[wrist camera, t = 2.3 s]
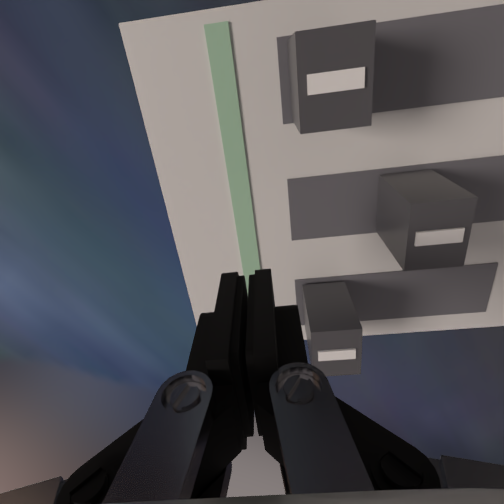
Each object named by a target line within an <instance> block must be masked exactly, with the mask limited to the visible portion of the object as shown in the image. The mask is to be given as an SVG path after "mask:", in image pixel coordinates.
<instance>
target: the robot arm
mask: <svg viewBox="0 0 504 504" xmlns="http://www.w3.org/2000/svg"><path fill="white" fill-rule="evenodd" d="M254 411H255V417H256V423H257V428H258V434H259V436H263V440H264V446H265V450H266V451H267V452H268V453H269V454H270V455H271V456H272V457H274V459H276V460H277V461H278V462H279V463H280V469H281V474H282V479H283V484H284V489H285V494H286V495H268V496H247V497H226V496H227V491H228V486H229V481H230V477H231V471H232V462H231V461H232V460H233V459H234V458H235V457H236V456H237V455H238V454H239V453H240V452H241V450H243V449H246V448H247V437H250V436H253V434H254ZM0 504H504V465H499V464H492V463H486V462H480V461H474V460H468V459H462V458H456V457H450V456H444V455H441V457H440V460H439V459H433V458H427V457H426V456H425V455H424V454H423V453H421V452H420V451H419V450H418V449H417V448H415V447H414V446H412V445H410V444H409V443H407V442H406V441H404V440H403V439H401V438H399V437H398V436H396V435H395V434H393V433H392V432H390V431H388V430H387V429H385V428H384V427H382V426H381V425H379V424H377V423H376V422H374V421H373V420H371V419H370V418H368V417H366V416H365V415H363V414H362V413H360V412H359V411H357V410H356V409H354V408H352V407H351V406H349V405H348V404H346V403H345V402H343V401H341V400H340V399H338V398H337V397H335V396H334V393H333V391H332V389H331V386H330V384H329V382H328V379H327V378H326V376H325V375H324V373H323V372H322V371H321V370H320V369H318V368H317V367H315V366H313V365H311V364H308V362H307V356H306V350H305V344H304V339H303V333H302V327H301V321H300V315H299V310H298V305H287V306H275V301H274V292H273V283H272V274H271V269H260V270H255V274H252V275H249V285H248V294H247V287H246V281H245V276H244V275H242V276H239V274H238V272H229V273H222V274H221V278H220V284H219V289H218V294H217V299H216V305H215V310H214V312H208V313H201V314H200V316H199V320H198V324H197V328H196V332H195V336H194V340H193V344H192V348H191V352H190V356H189V360H188V364H187V368H186V371H183V372H180V373H177V374H175V375H173V376H172V377H170V378H168V379H167V380H166V381H165V382H164V383H163V384H162V385H161V387H160V388H159V389H158V391H157V393H156V395H155V397H154V399H153V401H152V403H151V405H150V407H149V409H148V411H147V413H146V415H145V417H144V419H143V420H142V421H140V422H139V423H138V424H136V425H135V426H134V427H132V428H131V429H130V430H128V431H127V432H126V433H124V434H123V435H122V436H120V437H119V438H118V439H116V440H115V441H114V442H112V443H111V444H110V445H108V446H107V447H106V448H105V449H103V450H102V451H101V452H99V453H98V454H97V455H95V456H94V457H93V458H91V459H90V460H89V461H87V462H86V463H85V464H84V465H82V466H81V467H80V468H79V469H77V470H76V471H75V472H74V473H73V474H72V475H71V476H70V477H69V478H68V479H66V480H63V478H62V477H61V476H59V477H56V478H53V479H49V480H46V481H42V482H39V483H36V484H32V485H28V486H25V487H22V488H18V489H15V490H11V491H8V492H4V493H1V494H0Z"/></svg>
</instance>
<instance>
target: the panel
mask: <svg viewBox="0 0 504 504" xmlns="http://www.w3.org/2000/svg"><path fill="white" fill-rule="evenodd" d="M370 20H376V32H375V55H374V78H373V101H372V124H371V126H365V127H357V128H348V129H340V130H332V131H324V132H316V133H307V134H300V133H299V131H298V129H297V128H296V126H295V124H294V122H293V120H292V114H291V98H290V82H289V66H288V50H287V41H288V39H289V38H290V37H291V36H292V35H293V33H294V32H295V31H302V30H309V29H316V28H322V27H329V26H336V25H343V24H349V23H356V22H363V21H370ZM119 27H120V31H121V35H122V39H123V42H124V46H125V50H126V54H127V58H128V62H129V66H130V69H131V73H132V77H133V81H134V85H135V89H136V93H137V96H138V100H139V104H140V108H141V112H142V116H143V120H144V124H145V127H146V131H147V135H148V139H149V143H150V147H151V151H152V154H153V158H154V162H155V166H156V170H157V174H158V178H159V181H160V185H161V189H162V193H163V197H164V201H165V205H166V208H167V212H168V216H169V220H170V224H171V228H172V232H173V235H174V239H175V243H176V247H177V251H178V255H179V259H180V262H181V266H182V270H183V274H184V278H185V282H186V286H187V289H188V293H189V297H190V301H191V305H192V309H193V313H194V317H195V320H196V324H198V320H199V316H200V314H201V313H208V312H214V310H215V305H216V299H217V294H218V289H219V284H220V278H221V274H222V273H229V272H238V274H239V276H242V275H244V276H245V281H246V287H247V294H248V285H249V275H252V274H255V270H260V269H271V274H272V283H273V292H274V301H275V306H287V305H298V310H299V315H300V321H301V327H302V333H303V339H304V340H307V336H306V330H305V322H304V306H303V290H302V285H305V284H317V283H329V282H341V281H345V284H346V287H347V289H348V292H349V294H350V297H351V300H352V302H353V305H354V308H355V310H356V313H357V315H358V318H359V321H360V323H361V326H362V329H363V331H362V336H365V335H379V334H393V333H408V332H422V331H436V330H450V329H465V328H479V327H493V326H504V0H264V1H257V2H251V3H244V4H238V5H232V6H225V7H219V8H213V9H206V10H200V11H194V12H187V13H181V14H175V15H168V16H162V17H155V18H149V19H143V20H136V21H130V22H124V23H119ZM427 169H432V170H433V171H435V172H437V173H438V174H440V175H442V176H443V177H445V178H447V179H448V180H450V181H452V182H453V183H455V184H457V185H458V186H460V187H462V188H463V189H465V190H467V191H468V192H470V193H472V194H473V195H475V196H477V197H478V199H477V204H476V209H475V214H474V219H473V224H472V228H471V233H470V238H469V243H468V248H467V253H466V258H465V262H464V266H460V267H448V268H436V269H425V270H413V271H403V269H402V268H401V266H400V265H399V264H398V262H397V261H396V259H395V258H394V256H393V255H392V253H391V252H390V251H389V249H388V248H387V246H386V245H385V243H384V242H383V240H382V239H381V238H380V236H379V235H378V233H377V232H376V220H377V203H378V186H379V175H381V174H390V173H399V172H409V171H418V170H427Z"/></svg>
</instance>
